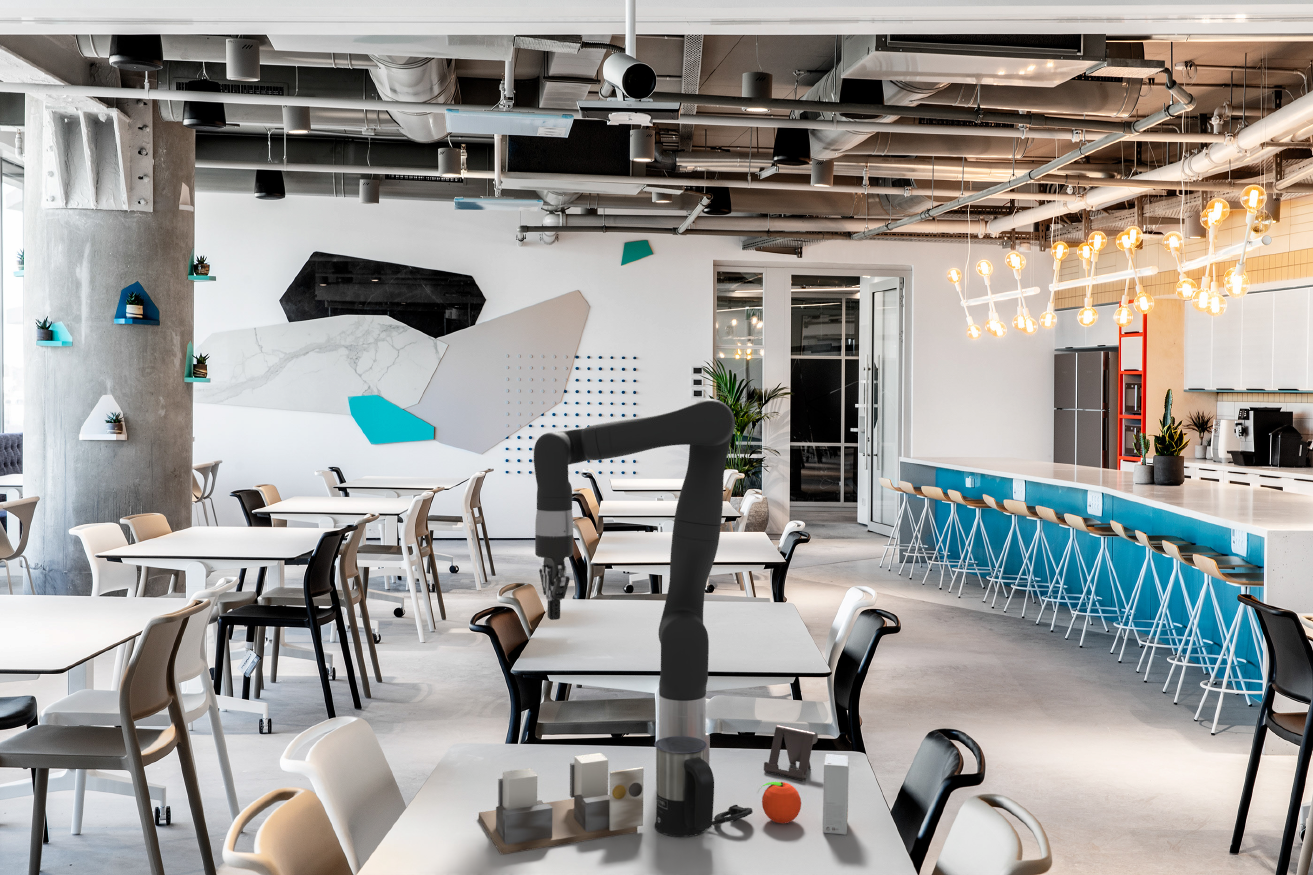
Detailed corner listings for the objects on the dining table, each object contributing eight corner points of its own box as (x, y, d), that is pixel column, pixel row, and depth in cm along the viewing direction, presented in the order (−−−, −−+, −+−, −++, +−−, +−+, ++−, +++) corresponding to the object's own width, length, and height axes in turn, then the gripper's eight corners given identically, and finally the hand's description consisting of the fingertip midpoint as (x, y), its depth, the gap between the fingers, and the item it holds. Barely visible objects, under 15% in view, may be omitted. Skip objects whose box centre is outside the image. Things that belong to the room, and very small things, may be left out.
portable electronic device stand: (762, 772, 207) (763, 731, 207) (781, 762, 213) (781, 722, 213) (802, 782, 202) (802, 739, 202) (819, 770, 208) (820, 729, 208)
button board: (610, 798, 192) (610, 740, 192) (643, 831, 177) (643, 768, 177) (478, 817, 182) (478, 756, 182) (501, 854, 167) (502, 788, 167)
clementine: (751, 825, 181) (751, 785, 180) (761, 810, 187) (762, 772, 187) (795, 832, 178) (796, 791, 177) (805, 817, 184) (805, 778, 184)
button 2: (600, 799, 188) (601, 750, 188) (610, 809, 184) (610, 759, 183) (569, 803, 186) (570, 754, 186) (578, 813, 181) (578, 763, 181)
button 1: (531, 816, 180) (531, 765, 180) (539, 827, 175) (540, 775, 175) (498, 821, 178) (498, 770, 177) (505, 832, 173) (505, 779, 173)
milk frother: (642, 826, 179) (643, 742, 179) (702, 802, 191) (703, 723, 190) (703, 851, 170) (704, 762, 169) (763, 824, 181) (764, 741, 180)
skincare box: (847, 835, 176) (848, 766, 176) (822, 833, 177) (823, 764, 177) (848, 821, 182) (849, 754, 182) (823, 819, 183) (824, 752, 183)
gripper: (583, 535, 200) (582, 623, 200) (562, 527, 212) (561, 611, 212) (545, 536, 197) (545, 626, 197) (526, 529, 209) (526, 613, 209)
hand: (553, 618), depth 205 cm, fingers closed
